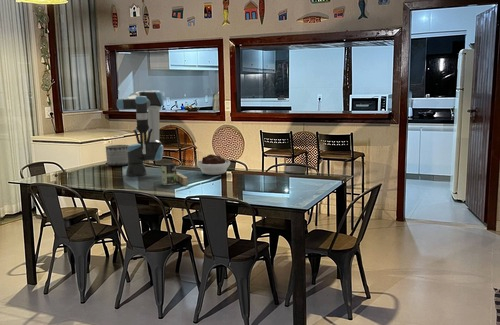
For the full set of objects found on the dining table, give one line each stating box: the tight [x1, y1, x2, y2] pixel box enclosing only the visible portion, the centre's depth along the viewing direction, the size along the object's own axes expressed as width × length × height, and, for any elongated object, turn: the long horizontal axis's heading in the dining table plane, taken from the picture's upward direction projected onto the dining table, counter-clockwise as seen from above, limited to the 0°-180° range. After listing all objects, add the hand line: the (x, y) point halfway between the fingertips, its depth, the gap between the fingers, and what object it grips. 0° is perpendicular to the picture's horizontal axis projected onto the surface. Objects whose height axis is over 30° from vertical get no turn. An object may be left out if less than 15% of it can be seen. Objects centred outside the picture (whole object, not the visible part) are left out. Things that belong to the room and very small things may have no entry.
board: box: [176, 171, 189, 186], centre depth 338 cm, size 22×3×5 cm, turn 25°
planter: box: [105, 144, 129, 167], centre depth 409 cm, size 19×19×16 cm
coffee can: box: [160, 161, 178, 186], centre depth 334 cm, size 10×10×14 cm
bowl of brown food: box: [196, 153, 231, 176], centre depth 365 cm, size 25×25×15 cm
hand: (144, 153), depth 331 cm, fingers closed
